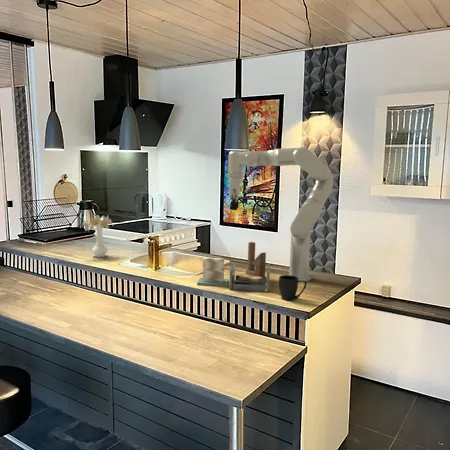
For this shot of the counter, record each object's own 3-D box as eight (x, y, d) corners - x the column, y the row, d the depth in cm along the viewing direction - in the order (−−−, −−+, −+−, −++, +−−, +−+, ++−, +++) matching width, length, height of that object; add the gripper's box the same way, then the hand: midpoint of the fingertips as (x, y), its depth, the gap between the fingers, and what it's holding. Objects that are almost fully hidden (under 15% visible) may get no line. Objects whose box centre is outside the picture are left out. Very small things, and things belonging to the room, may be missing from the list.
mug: (302, 304, 186) (303, 282, 185) (275, 299, 192) (276, 278, 191) (308, 299, 193) (309, 277, 192) (282, 294, 199) (283, 274, 198)
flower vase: (79, 257, 265) (78, 215, 262) (104, 252, 280) (104, 213, 276) (93, 260, 257) (92, 217, 254) (118, 255, 272) (118, 215, 269)
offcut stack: (263, 285, 215) (264, 277, 214) (258, 287, 211) (259, 279, 210) (242, 281, 221) (242, 273, 221) (237, 283, 217) (237, 275, 216)
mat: (228, 280, 220) (228, 278, 220) (226, 286, 210) (226, 284, 210) (200, 279, 222) (200, 277, 221) (197, 284, 212) (197, 282, 212)
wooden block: (259, 281, 222) (261, 245, 219) (245, 276, 230) (246, 242, 227) (265, 279, 224) (266, 244, 221) (250, 275, 232) (251, 241, 230)
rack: (269, 281, 221) (269, 263, 220) (268, 292, 203) (269, 272, 202) (232, 279, 223) (233, 262, 221) (229, 290, 205) (230, 270, 203)
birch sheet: (223, 280, 217) (224, 258, 215) (223, 282, 214) (223, 259, 213) (203, 279, 218) (203, 257, 216) (202, 281, 215) (203, 258, 214)
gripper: (229, 175, 237) (228, 207, 239) (226, 175, 220) (225, 210, 222) (243, 175, 236) (242, 207, 238) (241, 176, 219) (240, 211, 221)
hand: (234, 208), depth 230 cm, fingers open, 9 cm apart
